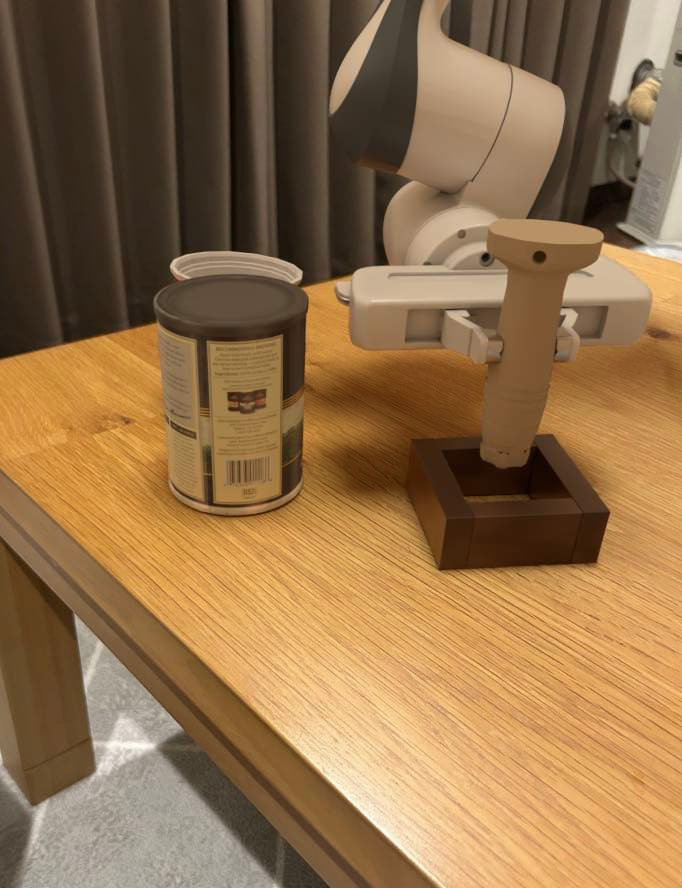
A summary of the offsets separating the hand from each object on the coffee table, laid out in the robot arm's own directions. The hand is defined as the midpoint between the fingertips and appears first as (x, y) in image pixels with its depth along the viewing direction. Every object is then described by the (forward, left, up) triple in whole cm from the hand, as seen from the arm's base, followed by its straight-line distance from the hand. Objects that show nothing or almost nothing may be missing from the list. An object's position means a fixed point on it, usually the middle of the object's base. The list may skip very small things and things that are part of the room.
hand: (529, 352), depth 53 cm
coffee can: (+18, -8, -13) cm, 24 cm away
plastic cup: (+17, -22, -13) cm, 31 cm away
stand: (0, -1, -13) cm, 13 cm away
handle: (0, -1, -8) cm, 8 cm away
